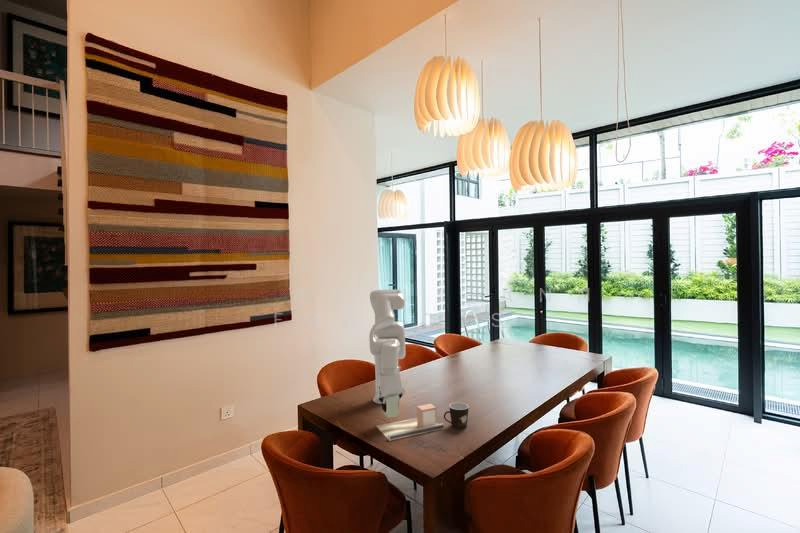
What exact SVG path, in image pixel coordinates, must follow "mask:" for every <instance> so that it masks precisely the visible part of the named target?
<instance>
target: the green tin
mask: <svg viewBox="0 0 800 533" xmlns="http://www.w3.org/2000/svg"><path fill="white" fill-rule="evenodd" d="M399 408H400V401H399V400H398V395H393V396H388V397H386V412H384V411H383V410H382V412H383V414H384V415H385V417H387V418H388V419H390V418H395V417H399V413H400V411H399V410H400V409H399Z"/></svg>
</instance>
